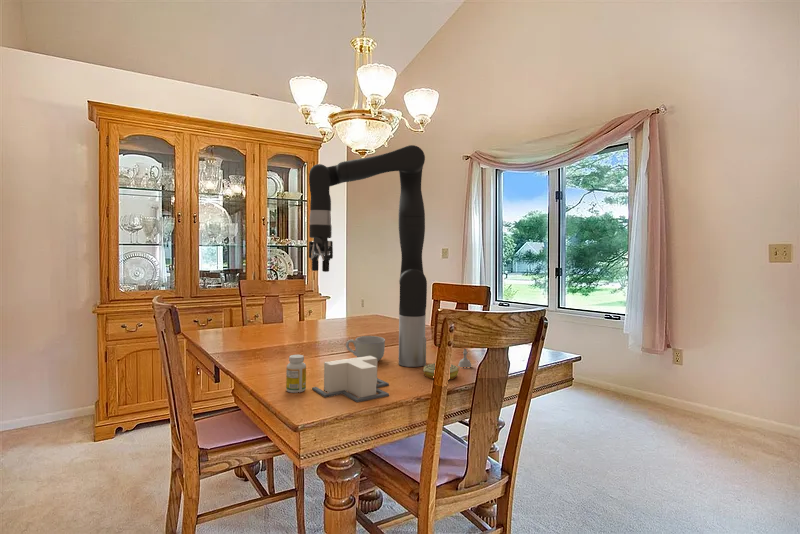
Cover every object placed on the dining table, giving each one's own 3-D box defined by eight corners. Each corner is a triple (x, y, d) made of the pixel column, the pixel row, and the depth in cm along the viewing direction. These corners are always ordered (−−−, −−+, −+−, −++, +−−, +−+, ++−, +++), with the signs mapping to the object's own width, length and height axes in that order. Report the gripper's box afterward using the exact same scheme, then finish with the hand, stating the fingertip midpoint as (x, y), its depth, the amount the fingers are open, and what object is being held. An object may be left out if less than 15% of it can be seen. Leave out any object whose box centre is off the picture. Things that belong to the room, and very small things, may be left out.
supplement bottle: (291, 394, 122) (291, 359, 121) (282, 389, 126) (283, 355, 125) (309, 390, 125) (309, 356, 125) (300, 386, 129) (300, 353, 129)
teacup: (386, 357, 166) (386, 336, 166) (382, 364, 155) (382, 341, 155) (349, 356, 167) (349, 335, 167) (343, 363, 156) (343, 340, 156)
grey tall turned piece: (471, 370, 149) (472, 316, 149) (452, 367, 152) (452, 315, 152) (477, 365, 156) (478, 313, 155) (458, 363, 159) (459, 312, 158)
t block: (324, 390, 126) (324, 362, 125) (370, 382, 134) (370, 355, 134) (344, 402, 116) (344, 371, 115) (392, 392, 124) (392, 364, 124)
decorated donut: (434, 371, 149) (434, 359, 149) (463, 376, 143) (463, 364, 143) (417, 377, 140) (417, 365, 140) (448, 383, 134) (448, 371, 134)
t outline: (312, 389, 126) (312, 387, 126) (373, 378, 138) (374, 376, 138) (338, 406, 113) (338, 403, 113) (404, 392, 125) (404, 390, 125)
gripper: (339, 223, 151) (339, 272, 151) (321, 225, 162) (321, 270, 163) (319, 222, 146) (319, 272, 147) (302, 224, 158) (301, 270, 158)
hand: (320, 271), depth 155 cm, fingers open, 8 cm apart
